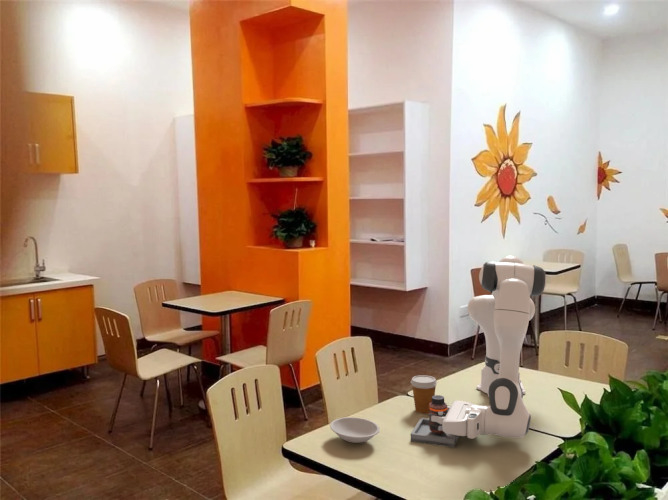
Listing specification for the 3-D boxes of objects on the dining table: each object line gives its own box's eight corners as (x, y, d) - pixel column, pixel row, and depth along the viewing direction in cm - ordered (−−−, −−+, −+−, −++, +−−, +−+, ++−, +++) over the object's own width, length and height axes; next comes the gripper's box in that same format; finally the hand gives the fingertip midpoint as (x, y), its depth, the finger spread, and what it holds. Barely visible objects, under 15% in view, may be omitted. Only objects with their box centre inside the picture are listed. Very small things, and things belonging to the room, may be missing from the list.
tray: (421, 424, 197) (420, 417, 196) (461, 430, 191) (461, 423, 191) (410, 441, 184) (410, 433, 183) (454, 447, 178) (454, 439, 178)
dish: (390, 442, 183) (389, 427, 183) (358, 457, 173) (358, 441, 173) (351, 427, 196) (351, 413, 195) (320, 440, 186) (320, 425, 186)
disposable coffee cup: (436, 416, 204) (436, 383, 202) (410, 414, 206) (409, 382, 204) (437, 406, 213) (437, 375, 212) (411, 405, 215) (411, 374, 214)
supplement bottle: (446, 435, 183) (445, 401, 182) (427, 433, 185) (427, 399, 184) (449, 427, 189) (448, 394, 188) (431, 425, 191) (430, 393, 190)
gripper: (481, 398, 191) (440, 393, 196) (471, 421, 172) (427, 415, 178) (481, 416, 192) (440, 411, 197) (472, 441, 173) (427, 435, 178)
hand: (434, 413), depth 187 cm, fingers closed on supplement bottle, 6 cm apart
